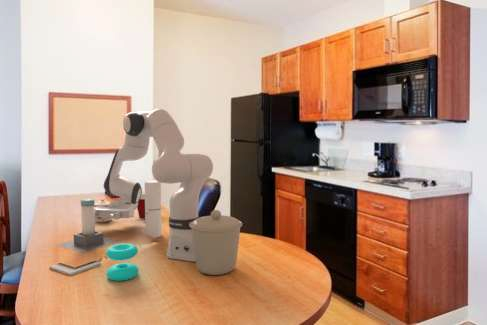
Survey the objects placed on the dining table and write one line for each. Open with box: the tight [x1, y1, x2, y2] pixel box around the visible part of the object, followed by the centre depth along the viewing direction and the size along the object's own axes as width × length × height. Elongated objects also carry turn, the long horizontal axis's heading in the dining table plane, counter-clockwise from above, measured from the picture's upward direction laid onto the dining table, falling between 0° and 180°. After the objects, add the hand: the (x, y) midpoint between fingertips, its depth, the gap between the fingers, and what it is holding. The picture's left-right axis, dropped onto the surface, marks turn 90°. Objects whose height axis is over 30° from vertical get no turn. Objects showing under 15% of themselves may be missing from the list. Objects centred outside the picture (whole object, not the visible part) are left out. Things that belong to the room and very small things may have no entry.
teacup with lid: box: [94, 198, 113, 223], centre depth 196 cm, size 12×9×12 cm
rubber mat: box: [48, 260, 102, 276], centre depth 131 cm, size 12×12×1 cm
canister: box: [190, 209, 243, 276], centre depth 128 cm, size 18×18×21 cm
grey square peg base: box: [56, 230, 121, 254], centre depth 153 cm, size 18×18×6 cm
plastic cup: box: [136, 193, 145, 219], centre depth 206 cm, size 11×11×12 cm
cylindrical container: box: [144, 180, 162, 238], centre depth 169 cm, size 7×7×25 cm
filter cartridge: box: [80, 198, 96, 236], centre depth 153 cm, size 5×5×18 cm
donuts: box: [105, 243, 139, 282], centre depth 122 cm, size 10×10×10 cm
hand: (101, 216), depth 163 cm, fingers open, 8 cm apart
